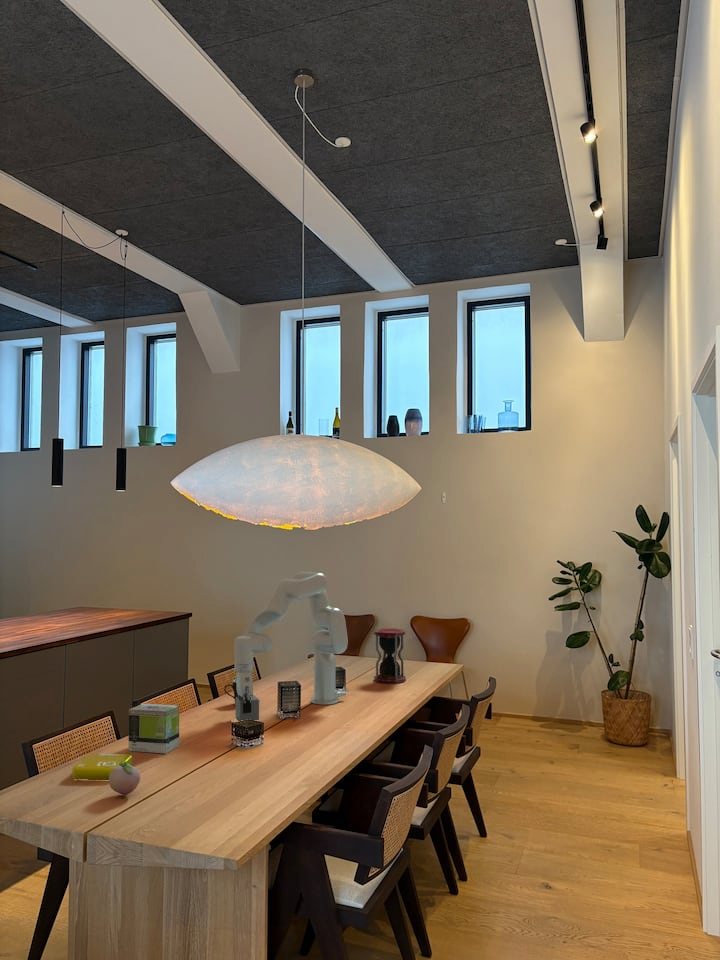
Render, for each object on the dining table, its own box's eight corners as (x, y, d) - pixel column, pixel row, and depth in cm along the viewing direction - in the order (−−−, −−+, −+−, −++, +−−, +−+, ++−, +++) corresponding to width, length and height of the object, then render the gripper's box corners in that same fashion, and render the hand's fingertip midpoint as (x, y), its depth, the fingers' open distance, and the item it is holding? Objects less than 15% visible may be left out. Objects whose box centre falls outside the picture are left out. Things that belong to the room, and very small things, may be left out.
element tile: (133, 767, 248) (133, 752, 249) (117, 783, 233) (117, 767, 234) (89, 766, 249) (89, 751, 249) (69, 782, 234) (70, 766, 234)
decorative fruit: (103, 795, 221) (103, 761, 222) (128, 788, 227) (129, 755, 228) (118, 804, 215) (118, 768, 215) (144, 796, 220) (144, 762, 221)
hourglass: (368, 678, 382) (368, 629, 384) (396, 676, 389) (396, 627, 390) (382, 685, 368) (382, 633, 369) (411, 682, 374) (411, 631, 376)
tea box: (180, 746, 270) (180, 704, 270) (165, 754, 260) (165, 711, 261) (142, 743, 274) (143, 702, 274) (127, 751, 264) (127, 708, 265)
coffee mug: (254, 701, 336) (254, 678, 336) (249, 706, 327) (249, 682, 328) (228, 700, 337) (228, 678, 337) (223, 705, 328) (223, 682, 329)
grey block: (254, 717, 309) (254, 695, 309) (259, 721, 302) (259, 699, 302) (235, 719, 306) (235, 697, 306) (239, 723, 299) (239, 701, 299)
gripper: (258, 670, 298) (258, 714, 297) (247, 662, 314) (248, 703, 313) (239, 672, 295) (240, 716, 294) (230, 664, 311) (230, 706, 310)
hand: (244, 709), depth 304 cm, fingers open, 9 cm apart
